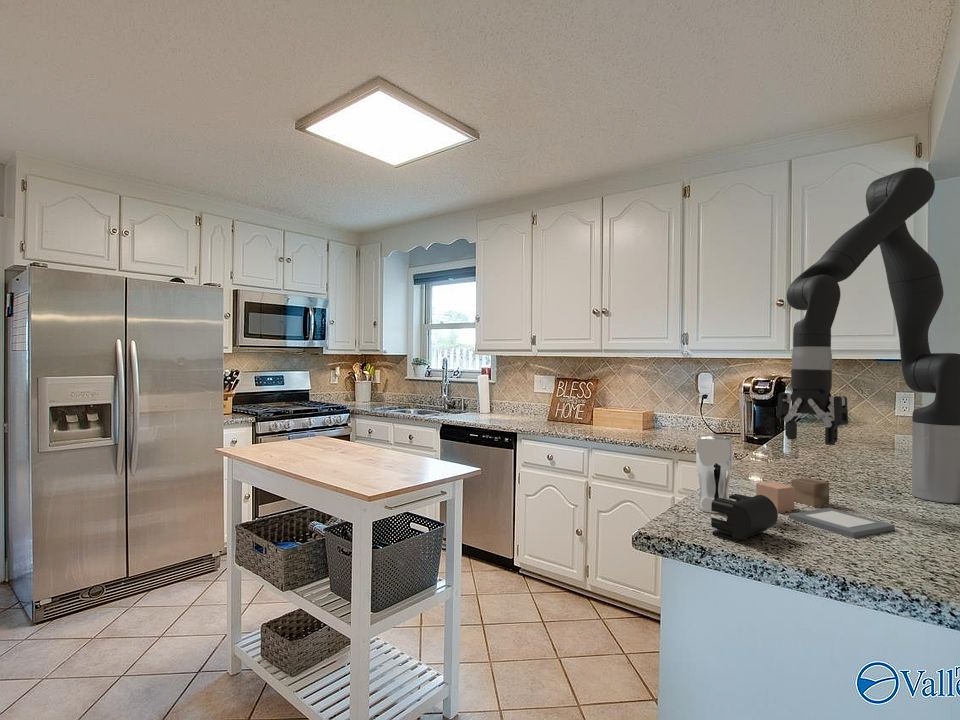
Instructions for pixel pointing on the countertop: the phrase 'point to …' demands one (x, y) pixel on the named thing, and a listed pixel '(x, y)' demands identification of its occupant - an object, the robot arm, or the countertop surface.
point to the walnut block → (811, 492)
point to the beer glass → (713, 469)
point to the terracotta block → (778, 495)
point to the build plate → (842, 522)
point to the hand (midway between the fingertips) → (810, 441)
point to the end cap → (743, 516)
